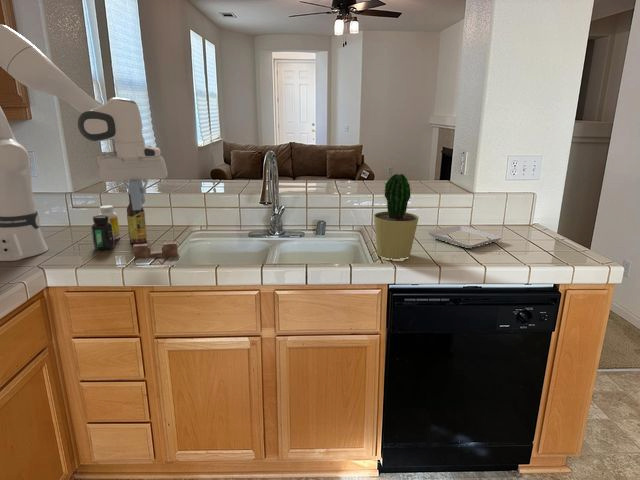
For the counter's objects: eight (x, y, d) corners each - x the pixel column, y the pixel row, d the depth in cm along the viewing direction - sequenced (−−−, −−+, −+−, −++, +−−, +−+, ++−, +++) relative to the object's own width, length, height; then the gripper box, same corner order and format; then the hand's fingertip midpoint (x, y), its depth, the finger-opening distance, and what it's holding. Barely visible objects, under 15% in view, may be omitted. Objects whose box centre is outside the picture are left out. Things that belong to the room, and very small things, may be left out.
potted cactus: (410, 250, 161) (417, 169, 153) (419, 264, 147) (427, 175, 138) (369, 249, 161) (373, 168, 153) (374, 263, 147) (379, 175, 138)
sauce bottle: (141, 244, 163) (135, 192, 157) (126, 243, 164) (119, 191, 158) (150, 239, 169) (145, 189, 163) (136, 238, 170) (130, 188, 164)
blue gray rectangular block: (132, 210, 138) (128, 182, 135) (137, 201, 149) (133, 175, 146) (140, 209, 139) (136, 182, 136) (145, 201, 150) (141, 175, 147)
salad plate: (502, 244, 171) (503, 236, 170) (469, 253, 160) (470, 244, 159) (458, 232, 188) (459, 224, 187) (425, 239, 176) (426, 231, 175)
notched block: (134, 259, 147) (133, 246, 146) (135, 256, 149) (134, 244, 148) (177, 255, 151) (176, 243, 150) (177, 253, 153) (176, 241, 152)
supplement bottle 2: (102, 252, 154) (97, 219, 150) (90, 249, 157) (85, 217, 153) (118, 247, 159) (115, 215, 156) (106, 244, 162) (102, 213, 159)
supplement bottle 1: (120, 235, 174) (117, 204, 170) (119, 240, 168) (115, 207, 164) (102, 236, 172) (98, 205, 168) (100, 241, 166) (95, 208, 162)
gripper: (93, 153, 133) (101, 197, 137) (163, 150, 137) (168, 193, 142) (97, 151, 138) (105, 193, 143) (164, 148, 143) (170, 189, 148)
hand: (137, 193), depth 142 cm, fingers closed on blue gray rectangular block, 2 cm apart
